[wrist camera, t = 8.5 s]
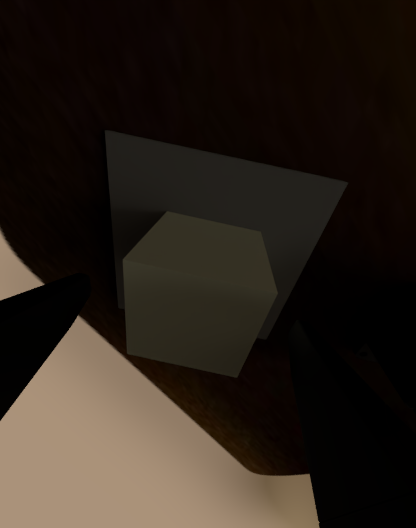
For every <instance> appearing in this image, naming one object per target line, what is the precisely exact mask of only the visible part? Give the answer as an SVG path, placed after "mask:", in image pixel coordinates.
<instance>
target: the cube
mask: <svg viewBox="0 0 416 528" xmlns="http://www.w3.org/2000/svg"><path fill="white" fill-rule="evenodd" d="M123 276H124V298H125V319H126V340H127V354H130V355H135V356H140V357H144V358H149V359H153V360H158V361H163V362H167V363H172V364H176V365H181V366H186V367H190V368H195V369H200V370H204V371H209V372H213V373H218V374H223V375H227V376H232V377H236V378H237V377H238V375H239V372H240V370H241V368H242V366H243V364H244V362H245V360H246V358H247V356H248V354H249V352H250V350H251V348H252V346H253V344H254V341H255V339H256V337H257V335H258V333H259V331H260V329H261V327H262V325H263V323H264V321H265V319H266V317H267V315H268V313H269V311H270V308H271V306H272V304H273V302H274V300H275V298H276V296H277V294H278V292H277V289H276V285H275V281H274V278H273V274H272V270H271V267H270V263H269V259H268V256H267V252H266V249H265V245H264V241H263V238H262V234H261V232H260V231H255V230H250V229H246V228H241V227H237V226H232V225H228V224H223V223H218V222H214V221H209V220H205V219H200V218H196V217H191V216H187V215H182V214H177V213H173V212H168V211H167V212H166V213H165V214H164V215H163V216H162V217H161V218H160V220H159V221H158V222H157V223H156V224H155V225H154V226H153V227H152V228H151V229H150V230H149V232H148V233H147V234H146V235H145V236H144V237H143V238H142V239H141V240H140V241H139V242H138V243H137V245H136V246H135V247H134V248H133V249H132V250H131V251H130V252H129V253H128V254H127V255H126V257H125V258H124V259H123Z"/></svg>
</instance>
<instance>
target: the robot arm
mask: <svg viewBox="0 0 416 528" xmlns="http://www.w3.org/2000/svg"><path fill="white" fill-rule="evenodd" d="M90 294H91V284H90V278H89V276H88V275H86V274H82V273H76V274H73V275H70V276H68V277H65V278H62V279H59V280H56V281H54V282H51V283H48V284H45V285H42V286H40V287H37V288H34V289H31V290H29V291H26V292H23V293H20V294H17V295H15V296H12V297H9V298H6V299H3V300H1V301H0V421H1V419H2V418H3V416H4V415H5V414H6V413H7V411H8V410H9V408H10V407H11V406H12V405H13V403H14V402H15V401H16V399H17V398H18V397H19V395H20V394H21V393H22V391H23V390H24V389H25V387H26V386H27V385H28V383H29V382H30V381H31V379H32V378H33V376H34V375H35V374H36V373H37V371H38V370H39V369H40V367H41V366H42V365H43V363H44V362H45V361H46V359H47V358H48V357H49V355H50V354H51V353H52V351H53V350H54V348H55V347H56V346H57V345H58V343H59V342H60V341H61V339H62V338H63V337H64V335H65V334H66V333H67V331H68V330H69V328H70V327H71V326H72V324H73V323H74V321H75V319H76V318H77V316H78V314H79V313H80V311H81V309H82V308H83V306H84V304H85V303H86V301H87V299H88V298H89V296H90ZM288 342H289V355H290V368H291V376H292V381H293V387H294V392H295V397H296V403H297V408H298V414H299V419H300V424H301V430H302V435H303V440H304V446H305V451H306V457H307V462H308V467H309V473H310V478H311V483H312V489H313V494H314V499H315V505H316V510H317V516H318V521H319V522H320V523H319V527H320V528H416V434H415V433H414V432H413V431H412V430H411V429H410V428H409V427H408V426H407V425H406V424H405V423H404V422H403V421H402V420H401V419H400V418H399V417H398V416H397V415H396V413H395V412H394V411H393V410H392V409H391V408H390V407H389V406H388V405H385V402H384V401H383V400H382V399H381V398H380V397H379V396H378V395H377V394H376V393H375V392H374V391H373V390H372V389H371V388H370V387H369V385H368V384H367V383H366V382H365V381H364V380H363V379H362V378H361V377H360V376H359V375H358V374H357V373H356V372H355V371H354V370H353V369H352V368H351V367H350V366H349V365H348V364H347V363H346V362H345V361H344V359H343V358H342V357H341V356H340V355H339V354H338V353H337V352H336V351H335V350H334V349H333V348H332V347H331V346H330V345H329V344H328V343H327V342H326V341H325V340H324V339H323V338H322V337H321V336H320V335H319V333H318V332H317V331H316V330H315V329H314V328H313V327H312V326H311V325H310V324H309V323H308V322H306V321H301V320H297V321H296V322H295V323H294V325H293V326H292V328H291V330H290V331H289V334H288ZM353 352H354V354H355V356H356V357H357V358H360V359H365V360H369V361H374V362H378V363H379V364H380V366H381V367H382V369H383V370H384V372H385V374H386V375H387V377H388V378H389V380H390V381H391V383H392V384H393V386H394V388H395V389H396V391H397V392H398V394H399V395H400V397H401V399H402V400H403V402H404V403H405V405H406V406H407V407H409V408H411V409H413V411H414V413H415V414H416V285H414V286H412V287H410V288H408V289H407V290H406V291H405V292H404V293H403V295H402V296H401V297H400V298H399V299H398V300H397V301H396V302H395V303H394V304H393V306H392V307H391V308H390V309H389V310H388V311H387V312H386V313H385V314H384V315H383V316H382V318H381V319H380V320H379V321H378V322H377V323H376V324H375V325H374V326H373V327H372V329H371V330H370V331H369V332H368V333H367V334H366V335H365V336H364V337H363V338H362V339H361V341H360V342H359V343H358V344H357V345H356V346H355V347H354V348H353Z"/></svg>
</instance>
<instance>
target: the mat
mask: <svg viewBox="0 0 416 528" xmlns="http://www.w3.org/2000/svg"><path fill="white" fill-rule="evenodd" d="M105 141H106V154H107V167H108V180H109V193H110V206H111V219H112V232H113V245H114V258H115V271H116V284H117V297H118V308H121V309H125V298H124V276H123V259H124V258H125V257H126V255H127V254H128V253H129V252H130V251H131V250H132V249H133V248H134V247H135V246H136V245H137V243H138V242H139V241H140V240H141V239H142V238H143V237H144V236H145V235H146V234H147V233H148V232H149V230H150V229H151V228H152V227H153V226H154V225H155V224H156V223H157V222H158V221H159V220H160V218H161V217H162V216H163V215H164V214H165V213H166V212H167V211H168V212H173V213H177V214H182V215H187V216H191V217H196V218H200V219H205V220H209V221H214V222H218V223H223V224H228V225H232V226H237V227H241V228H246V229H250V230H255V231H260V232H261V234H262V238H263V241H264V245H265V249H266V252H267V256H268V259H269V263H270V267H271V270H272V274H273V278H274V281H275V285H276V289H277V292H278V294H277V296H276V298H275V300H274V302H273V304H272V306H271V308H270V311H269V313H268V315H267V317H266V319H265V321H264V323H263V325H262V327H261V329H260V331H259V333H258V335H257V337H256V338H261V339H265V340H266V339H267V337H268V335H269V333H270V331H271V330H272V328H273V326H274V324H275V322H276V320H277V318H278V316H279V314H280V312H281V310H282V308H283V307H284V305H285V303H286V301H287V299H288V297H289V295H290V293H291V291H292V289H293V287H294V285H295V284H296V282H297V280H298V278H299V276H300V274H301V272H302V270H303V268H304V266H305V264H306V262H307V261H308V259H309V257H310V255H311V253H312V251H313V249H314V247H315V245H316V243H317V241H318V239H319V238H320V236H321V234H322V232H323V230H324V228H325V226H326V224H327V222H328V220H329V218H330V216H331V215H332V213H333V211H334V209H335V207H336V205H337V203H338V201H339V199H340V197H341V195H342V193H343V192H344V190H345V188H346V186H347V184H348V182H345V181H342V180H337V179H333V178H328V177H323V176H319V175H314V174H310V173H305V172H300V171H296V170H291V169H286V168H282V167H277V166H272V165H268V164H263V163H258V162H254V161H249V160H244V159H240V158H235V157H231V156H226V155H221V154H217V153H212V152H207V151H203V150H198V149H193V148H189V147H184V146H179V145H175V144H170V143H165V142H161V141H156V140H152V139H147V138H142V137H138V136H133V135H128V134H124V133H119V132H114V131H107V130H105Z"/></svg>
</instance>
